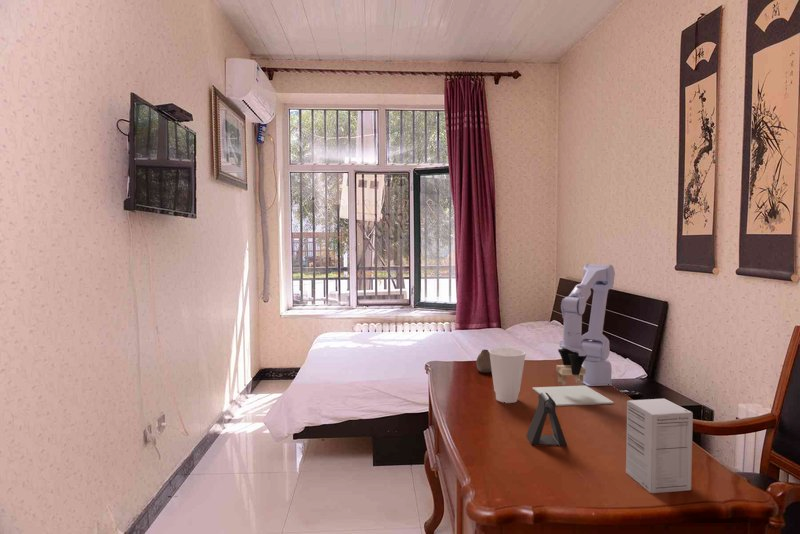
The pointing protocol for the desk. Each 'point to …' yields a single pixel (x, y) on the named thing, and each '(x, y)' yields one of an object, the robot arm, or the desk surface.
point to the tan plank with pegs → (567, 370)
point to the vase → (484, 362)
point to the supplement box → (659, 445)
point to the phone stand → (539, 419)
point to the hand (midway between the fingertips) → (571, 372)
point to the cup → (507, 372)
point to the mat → (573, 395)
